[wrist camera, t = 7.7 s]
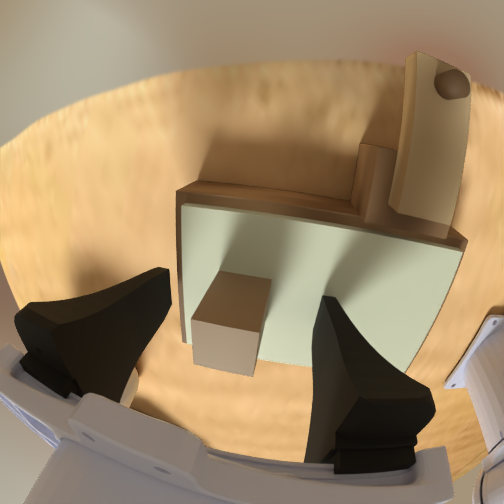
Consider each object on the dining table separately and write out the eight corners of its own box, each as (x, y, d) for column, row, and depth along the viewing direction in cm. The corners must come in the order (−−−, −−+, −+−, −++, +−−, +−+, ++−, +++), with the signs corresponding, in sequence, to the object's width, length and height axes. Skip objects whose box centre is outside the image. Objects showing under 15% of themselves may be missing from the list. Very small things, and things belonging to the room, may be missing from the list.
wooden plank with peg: (455, 78, 7) (485, 71, 5) (437, 216, 9) (462, 235, 7) (405, 58, 7) (428, 43, 5) (387, 204, 9) (407, 221, 7)
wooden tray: (457, 171, 11) (492, 184, 8) (397, 345, 16) (408, 382, 13) (199, 124, 13) (169, 123, 10) (196, 316, 18) (177, 351, 15)
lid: (458, 248, 10) (502, 292, 7) (402, 367, 14) (415, 421, 10) (185, 202, 12) (136, 236, 8) (189, 338, 15) (162, 390, 11)
